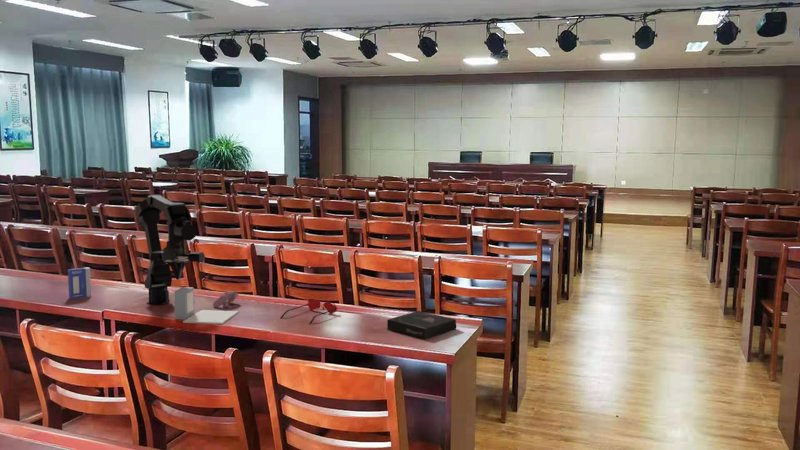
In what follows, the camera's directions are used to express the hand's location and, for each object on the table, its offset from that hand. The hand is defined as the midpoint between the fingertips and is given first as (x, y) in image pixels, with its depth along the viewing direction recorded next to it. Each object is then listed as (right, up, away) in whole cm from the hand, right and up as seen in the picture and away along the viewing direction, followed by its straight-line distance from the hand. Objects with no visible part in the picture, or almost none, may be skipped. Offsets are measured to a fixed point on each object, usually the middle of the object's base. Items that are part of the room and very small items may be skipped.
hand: (178, 279), depth 231 cm
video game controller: (+15, -11, +12) cm, 22 cm away
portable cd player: (+90, -16, -18) cm, 93 cm away
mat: (+14, -13, -6) cm, 20 cm away
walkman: (-47, -9, +22) cm, 53 cm away
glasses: (+49, -14, -3) cm, 51 cm away
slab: (+4, -13, -5) cm, 15 cm away
